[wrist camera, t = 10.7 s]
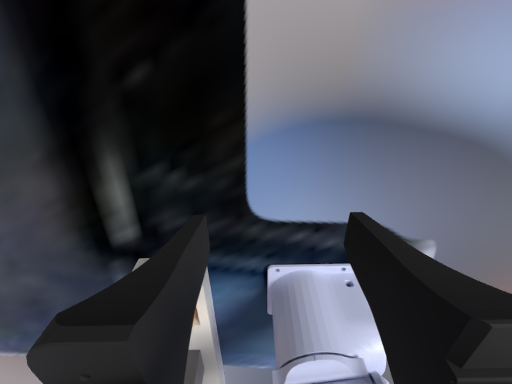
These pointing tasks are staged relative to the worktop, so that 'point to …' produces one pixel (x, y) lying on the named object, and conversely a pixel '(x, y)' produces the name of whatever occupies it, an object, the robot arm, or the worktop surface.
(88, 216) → the worktop surface
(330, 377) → the robot arm
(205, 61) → the worktop surface
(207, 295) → the pdu strip
